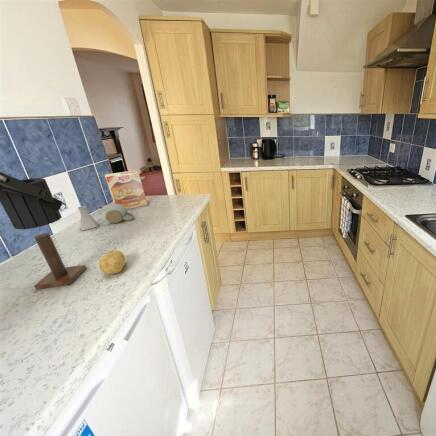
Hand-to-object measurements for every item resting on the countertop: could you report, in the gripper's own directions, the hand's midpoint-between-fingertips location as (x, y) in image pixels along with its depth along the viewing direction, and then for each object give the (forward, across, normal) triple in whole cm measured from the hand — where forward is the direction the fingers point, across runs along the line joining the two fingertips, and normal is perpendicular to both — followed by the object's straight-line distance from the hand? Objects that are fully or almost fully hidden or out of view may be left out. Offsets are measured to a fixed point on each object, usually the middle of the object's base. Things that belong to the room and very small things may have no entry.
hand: (43, 205), depth 73 cm
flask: (+40, -23, +7) cm, 47 cm away
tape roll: (+1, 0, -5) cm, 5 cm away
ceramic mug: (+46, -13, +13) cm, 49 cm away
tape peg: (+13, +1, -20) cm, 24 cm away
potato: (+17, +15, -16) cm, 28 cm away
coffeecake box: (+59, -21, +26) cm, 68 cm away
